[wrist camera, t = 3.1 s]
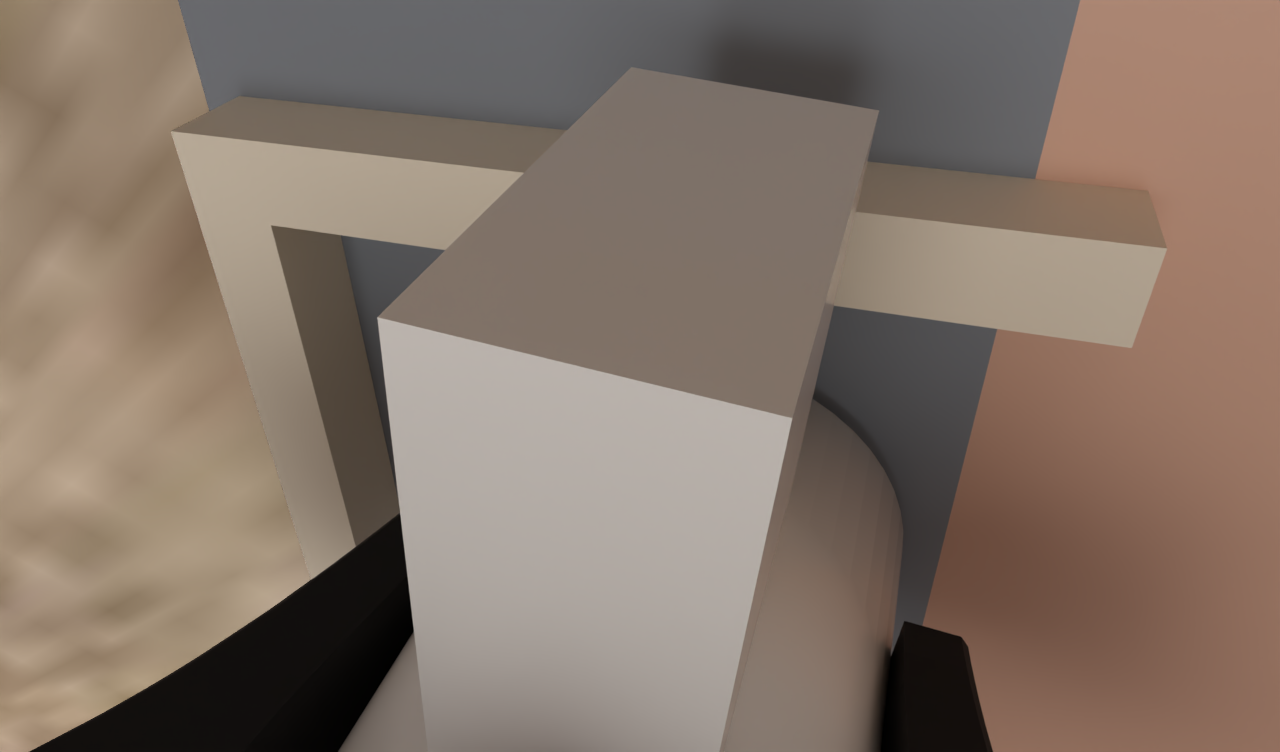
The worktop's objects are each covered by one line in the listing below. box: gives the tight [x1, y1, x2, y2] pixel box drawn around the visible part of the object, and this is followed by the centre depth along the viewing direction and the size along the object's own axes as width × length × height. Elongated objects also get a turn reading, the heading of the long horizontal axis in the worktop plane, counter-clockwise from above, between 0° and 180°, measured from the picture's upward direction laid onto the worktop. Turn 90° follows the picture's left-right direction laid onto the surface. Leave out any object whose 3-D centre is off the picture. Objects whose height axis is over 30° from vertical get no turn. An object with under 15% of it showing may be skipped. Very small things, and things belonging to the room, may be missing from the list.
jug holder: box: [171, 0, 1280, 752], centre depth 12 cm, size 18×19×2 cm
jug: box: [338, 67, 903, 752], centre depth 9 cm, size 10×5×6 cm, turn 176°
